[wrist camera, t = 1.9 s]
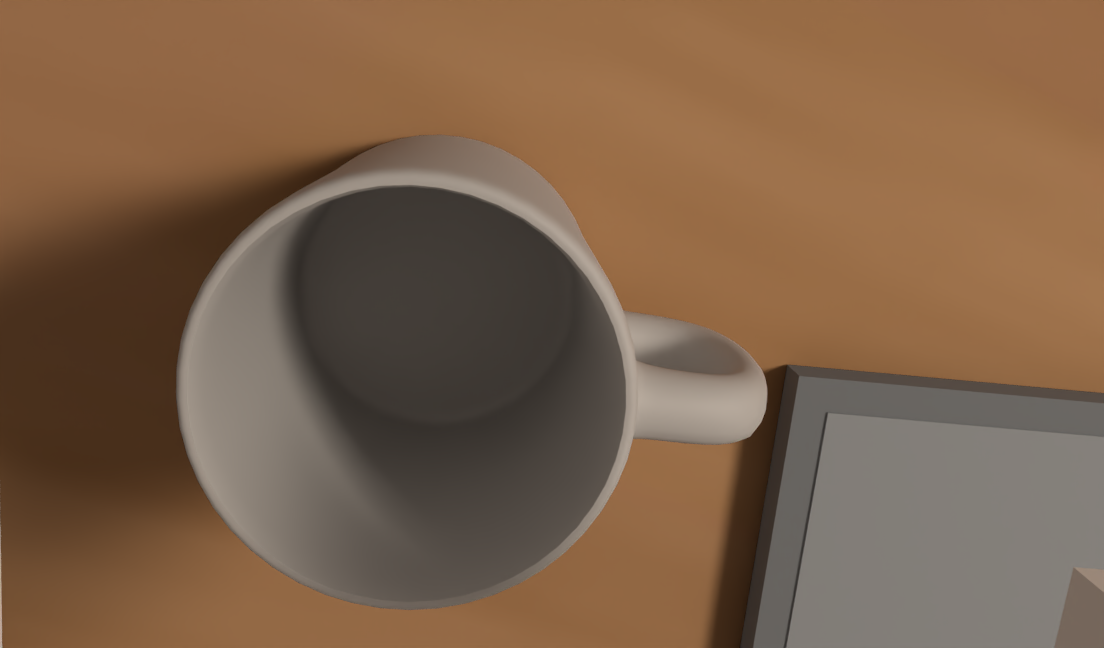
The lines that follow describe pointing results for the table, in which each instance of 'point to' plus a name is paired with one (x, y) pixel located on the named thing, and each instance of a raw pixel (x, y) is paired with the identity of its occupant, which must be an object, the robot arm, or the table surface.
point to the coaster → (924, 512)
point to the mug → (432, 379)
